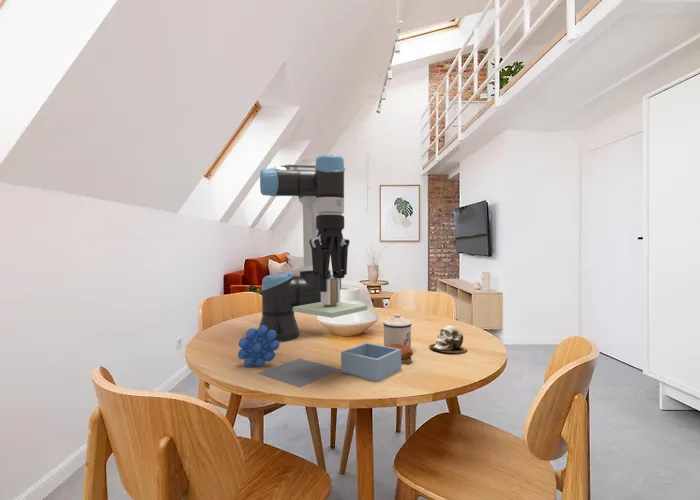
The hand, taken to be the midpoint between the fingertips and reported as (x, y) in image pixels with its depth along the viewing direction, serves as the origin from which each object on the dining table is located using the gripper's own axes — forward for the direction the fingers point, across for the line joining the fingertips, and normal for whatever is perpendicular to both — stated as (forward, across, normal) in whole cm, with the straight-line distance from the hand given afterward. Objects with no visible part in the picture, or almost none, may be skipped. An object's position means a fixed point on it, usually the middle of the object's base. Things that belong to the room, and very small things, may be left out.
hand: (330, 303), depth 103 cm
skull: (+19, +42, -14) cm, 48 cm away
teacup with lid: (+19, +31, -1) cm, 37 cm away
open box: (+19, +8, -8) cm, 22 cm away
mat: (+19, -5, +7) cm, 21 cm away
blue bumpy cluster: (+19, -8, +20) cm, 29 cm away
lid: (+2, 0, 0) cm, 2 cm away
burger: (+19, +20, -7) cm, 29 cm away
